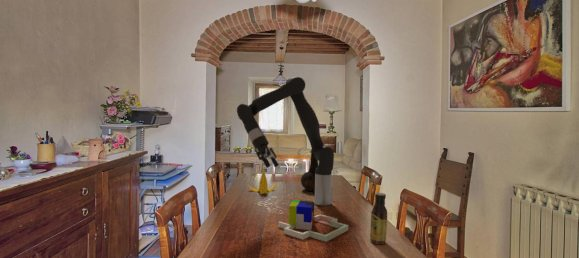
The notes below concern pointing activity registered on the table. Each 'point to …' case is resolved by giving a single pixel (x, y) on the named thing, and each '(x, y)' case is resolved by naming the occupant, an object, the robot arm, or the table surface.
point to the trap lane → (320, 219)
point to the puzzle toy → (301, 214)
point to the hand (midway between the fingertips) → (272, 166)
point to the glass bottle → (310, 174)
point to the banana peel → (263, 185)
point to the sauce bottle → (379, 220)
